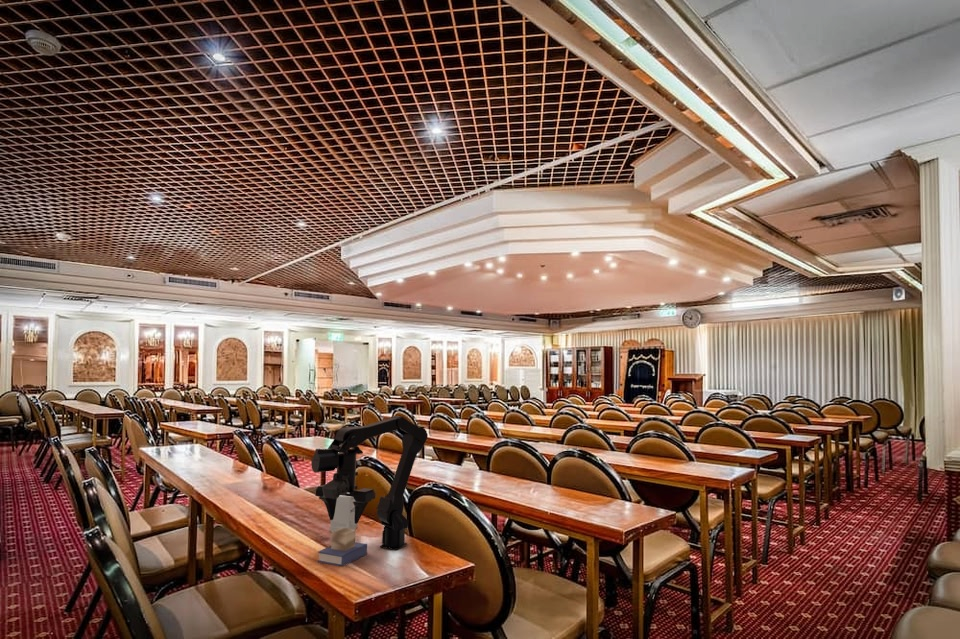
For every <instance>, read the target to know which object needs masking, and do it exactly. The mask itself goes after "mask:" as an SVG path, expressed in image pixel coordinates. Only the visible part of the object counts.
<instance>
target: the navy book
mask: <svg viewBox="0 0 960 639" xmlns="http://www.w3.org/2000/svg"><path fill="white" fill-rule="evenodd" d="M367 552H368V544H367V543H362V542H356V541H355V547H353V548H351V549H349V550H346V551H340V550H334V549H331V545H329V546H327V547H325V548H323V549H321V550H318V551H317V553H318V560H317V563H321V564H326V565H332V566H336V567H337V566H338V567H344V565H345V566H346V564H347V565H349V564H350V563H352V562H354V561H356V560H358V559H361V558H362V557H364V556H366V555H367V554H368V553H367Z"/></svg>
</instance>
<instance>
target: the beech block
mask: <svg viewBox="0 0 960 639" xmlns="http://www.w3.org/2000/svg"><path fill="white" fill-rule="evenodd" d="M356 529H357V528H356ZM356 529H349V528H340V529H338V530H335V531H333V532H331V543H330V544H331V545H330V546H331V549H334V550H340V551H346V550H349V549H351V548H353V547H355V542H356Z"/></svg>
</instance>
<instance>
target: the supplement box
mask: <svg viewBox="0 0 960 639" xmlns="http://www.w3.org/2000/svg"><path fill="white" fill-rule="evenodd" d="M354 501H355V499H354V497H351V496H343V495H340V496H339V497H338V498H337V501H336V508H335V514H334V518H333V520H330V528H329V530H330V533H332V532H333V531H335V530H338V529H340V528H349V529H357V528H358V523H357V524H355V520H354V517H355V506H354V504H353V502H354Z"/></svg>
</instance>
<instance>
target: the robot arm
mask: <svg viewBox="0 0 960 639" xmlns="http://www.w3.org/2000/svg"><path fill="white" fill-rule="evenodd" d="M392 431H396V432H397V433H398V434H399V435H401V436H402V440H401V445H402V452H401V454H400V459H399V461H398V463H397V464H398V465H397V468H396V470H395V473H394V476H393V479H392V482H391V485H390V488H389V491H388V493H387V494H386V495H385V496H380V498H379V502H378V505H377V506H376V508H375V509H376V510H377V511H376V516H377V518H378V519H379V520H380V523H381V526H383V530H382V534H381V536H382V538H381V544H380V548H383V549H389V550H395V551H398V550H400V549H402V548H403V547H405V546H407V545H408V542H405V541H406V540H405V538H406V537H405V535H406V529H408V526H409V523H410V521H409V520H408V519H407V518H406V517H405V516H404V515H403V513H404V494H405V491H406V488H407V485H408V482H409V479H410V476H411V472H412V470H413V466H414V464H415V461H416V457H417V455H418V454H419V452H421V450H423V448H424V446H425V444H426V442H427V440H428V435H429V434H428V432H427V430H426V428H424V427H421V426H418V425H416V424H414V423H413V422H411V421H409V420H408V419H406V418H405V417H403V416H399V415H398V416H397V415H393V417H391V418H387V419H383V420H379V421H376V422H371V423H370V424H366V425H363V426H347V427H342V428H340V429H338V430H337V432H336V434H335V437H334V439H333V440H332V442H331V443H330V444H329V446H328V447H327V448H316V449H315V450H314V453H313V455H312V459H311V470H312V471H313V473H324V472H334V471H335V470H336V472H335V473H333V476H332V480H329V481H328V482H327V483H326V484H321V485H318V486H317V487H316V488H315V495H314V496H315V497H318V499H319V500H321V501H322V502H323V503H324V505H325V508H326V512H327V514H328V518H329V521H331V520H333V518H334V514H335V508H336V501H337V498H338V497H339V496H340V495H343V496H351V497H354V499H355V501H354V502H353V504H354V506H355V517H354V520H355V524H357V525H358V524H359V521H360V519H361V517H362V515H363V513H364V510H365V509H366V508H367V505H368V504H369V502H372V500H374V499H376V491H375V490H374V489H373V488H365V487H364V488H361V489H358V485H357V484H356V476H359V471H357V470H356V467H357V455H361V454H364V451H362V449H361V448H360V447H359V446H360V445H361V444H364V442H366V441H367V440H368V439H371V438H374V437H378V436H380V435H383V434H387V433H391V432H392ZM357 489H358V490H357Z"/></svg>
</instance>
